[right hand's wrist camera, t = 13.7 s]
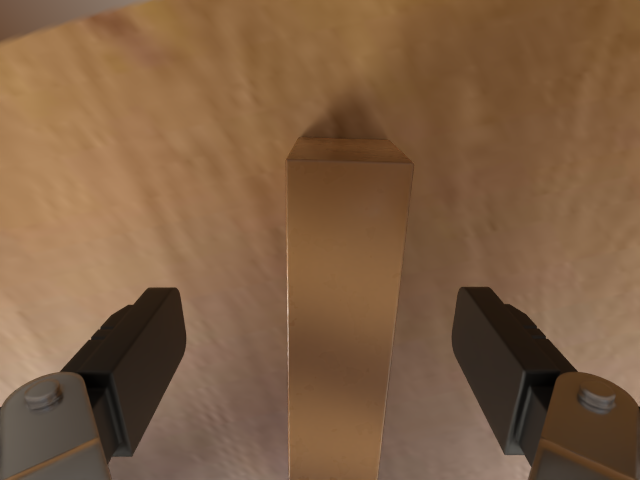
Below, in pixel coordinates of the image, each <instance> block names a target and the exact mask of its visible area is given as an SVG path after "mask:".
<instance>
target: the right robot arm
mask: <svg viewBox="0 0 640 480" xmlns="http://www.w3.org/2000/svg"><path fill="white" fill-rule="evenodd" d="M185 347H186V330H185V324H184V317H183V311H182V304H181V297H180V293H179V290H178V289H177V288H148V289H146V291H145V292H144V293H143V294H142V295H141V296H140V298H139V299H138V300H137V301H136V302H135V303H134V305H127V306H126V307H124V308H122V309H121V310H119V311H117V312H116V313H114V314H113V315H111V316H110V317H109V318H108V320H107V321H106V322H105V323H104V324H103V325H102V326H101V329H100V330H97V332H96V333H95V334H94V335H93V336H92V337H91V340H88V341H87V343H86V344H85V345H84V346H83V347H82V348H81V349H80V350H79V351H78V352H77V353H76V355H75V356H74V357H73V358H72V359H71V360H70V361H69V362H68V363H67V364H66V366H65V367H64V368H63V369H62V370H61V371H60V372H57V373H52V374H48V375H45V376H41V377H39V378H36V379H34V380H32V381H30V382H28V383H26V384H24V385H23V386H21V387H20V388H18V389H17V390H15V391H14V392H13V393H12V394H11V395H10V396H9V397H8V398H7V399H6V400H5V402H4V403H3V405H2V407H0V480H112V478H111V474H110V471H109V467H108V463H109V461H110V459H111V458H112V457H132V456H133V454H134V452H135V450H136V448H137V446H138V444H139V442H140V440H141V438H142V436H143V434H144V432H145V430H146V428H147V426H148V424H149V422H150V420H151V418H152V416H153V415H154V413H155V411H156V409H157V407H158V405H159V403H160V401H161V399H162V397H163V395H164V393H165V391H166V389H167V387H168V385H169V383H170V381H171V379H172V377H173V375H174V373H175V371H176V369H177V367H178V365H179V363H180V361H181V359H182V357H183V355H184V352H185ZM452 347H453V351H454V354H455V357H456V359H457V361H458V363H459V365H460V367H461V369H462V371H463V373H464V375H465V377H466V379H467V381H468V383H469V385H470V387H471V389H472V391H473V393H474V395H475V397H476V399H477V401H478V403H479V405H480V407H481V409H482V411H483V413H484V415H485V417H486V419H487V421H488V423H489V425H490V427H491V429H492V431H493V433H494V434H495V436H496V438H497V440H498V442H499V444H500V446H501V448H502V450H503V452H504V454H505V455H525V457H526V458H527V460H528V462H529V464H530V466H531V471H530V474H529V478H528V480H640V407H639V406H638V405H637V403H636V402H635V400H634V399H633V398H632V397H631V396H630V395H629V394H628V393H627V392H626V391H625V390H623V389H622V388H620V387H619V386H617V385H616V384H614V383H612V382H610V381H608V380H606V379H604V378H601V377H599V376H595V375H592V374H588V373H583V372H578V371H577V370H576V369H575V368H574V367H573V366H572V365H571V364H570V363H569V361H568V360H567V359H566V358H565V357H564V356H563V355H562V354H561V353H560V351H559V350H558V349H557V348H556V347H555V346H554V345H553V344H552V343H551V342H550V340H549V339H546V336H545V335H544V334H543V333H542V332H541V330H540V329H537V326H536V325H535V324H534V323H533V322H532V321H531V319H530V318H529V317H528V316H527V315H526V314H525V313H523V312H521V311H520V310H518V309H516V308H515V307H513V306H511V305H510V304H504V303H503V302H502V301H501V300H500V299H499V297H498V296H497V295H496V294H495V293H494V292H493V290H492V289H491V288H489V287H461V288H460V289H459V292H458V296H457V303H456V309H455V316H454V323H453V329H452Z"/></svg>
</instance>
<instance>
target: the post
mask: <svg viewBox="0 0 640 480" xmlns="http://www.w3.org/2000/svg"><path fill="white" fill-rule="evenodd" d="M413 169H414V163H413V162H412V161H411V160H410V159H409V158H408V157H407V156H406V155H404V154H403V153H402V152H401V151H400V150H399V149H398V148H397V147H396V146H395V145H394V144H393V143H392V142H391V141H390V140H378V139H342V138H306V137H299V138H298V140H297V141H296V143H295V145H294V147H293V148H292V150H291V152H290V154H289V156H288V157H287V159H286V263H287V372H288V480H378V473H379V464H380V456H381V447H382V438H383V430H384V421H385V412H386V404H387V395H388V386H389V378H390V369H391V360H392V352H393V343H394V334H395V326H396V317H397V308H398V300H399V291H400V282H401V274H402V265H403V256H404V248H405V239H406V230H407V222H408V213H409V204H410V195H411V187H412V178H413Z"/></svg>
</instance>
